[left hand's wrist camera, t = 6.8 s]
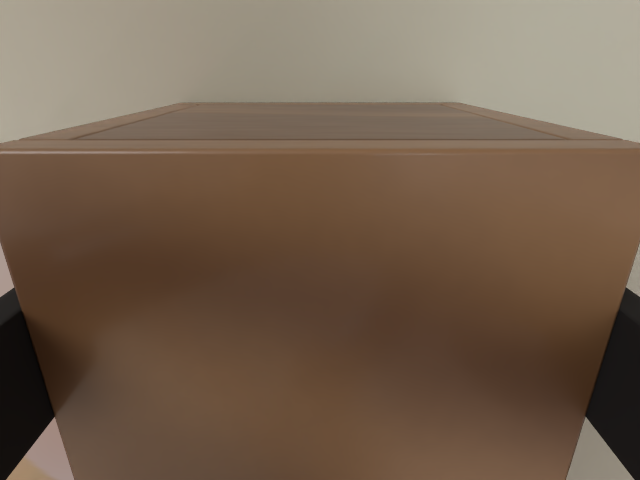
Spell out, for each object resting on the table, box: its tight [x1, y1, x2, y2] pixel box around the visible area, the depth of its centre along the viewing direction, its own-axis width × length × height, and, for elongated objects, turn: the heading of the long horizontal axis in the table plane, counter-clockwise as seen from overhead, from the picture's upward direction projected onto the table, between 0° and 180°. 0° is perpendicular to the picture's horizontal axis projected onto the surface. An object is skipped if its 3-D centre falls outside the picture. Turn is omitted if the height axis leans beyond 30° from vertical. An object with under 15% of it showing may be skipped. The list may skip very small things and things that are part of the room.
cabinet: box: [0, 103, 640, 480], centre depth 16 cm, size 22×12×11 cm, turn 0°
